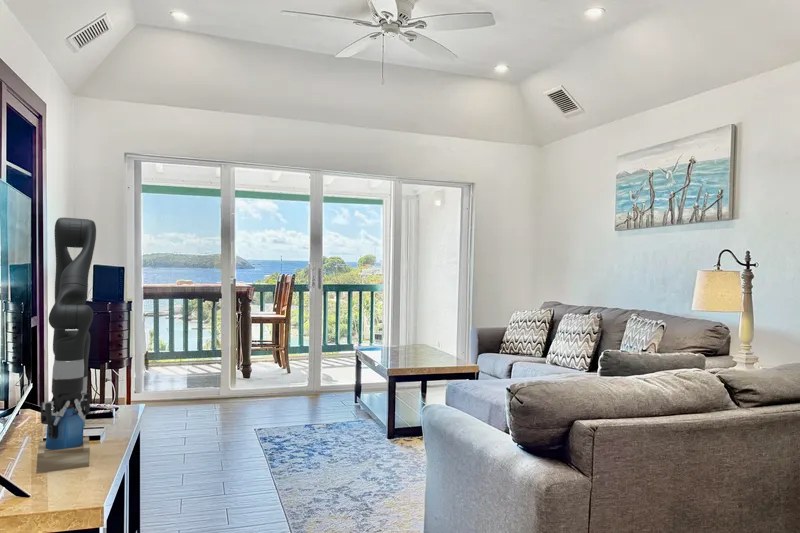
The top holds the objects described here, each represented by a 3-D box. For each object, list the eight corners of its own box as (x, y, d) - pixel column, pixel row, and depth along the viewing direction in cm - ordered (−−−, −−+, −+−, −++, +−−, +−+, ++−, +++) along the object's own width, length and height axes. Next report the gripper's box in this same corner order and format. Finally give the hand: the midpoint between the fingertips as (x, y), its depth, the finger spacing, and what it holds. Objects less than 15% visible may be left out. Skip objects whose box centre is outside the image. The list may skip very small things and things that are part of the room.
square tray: (38, 459, 149) (39, 441, 149) (87, 453, 155) (88, 435, 155) (36, 473, 139) (37, 453, 139) (88, 466, 145) (89, 447, 145)
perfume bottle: (64, 451, 144) (67, 407, 144) (45, 448, 145) (48, 405, 145) (82, 444, 150) (85, 402, 150) (64, 442, 151) (66, 400, 151)
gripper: (80, 370, 156) (77, 426, 155) (33, 378, 142) (30, 440, 142) (100, 372, 153) (97, 430, 153) (54, 381, 140) (50, 444, 139)
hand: (65, 434), depth 147 cm, fingers closed on perfume bottle, 6 cm apart
